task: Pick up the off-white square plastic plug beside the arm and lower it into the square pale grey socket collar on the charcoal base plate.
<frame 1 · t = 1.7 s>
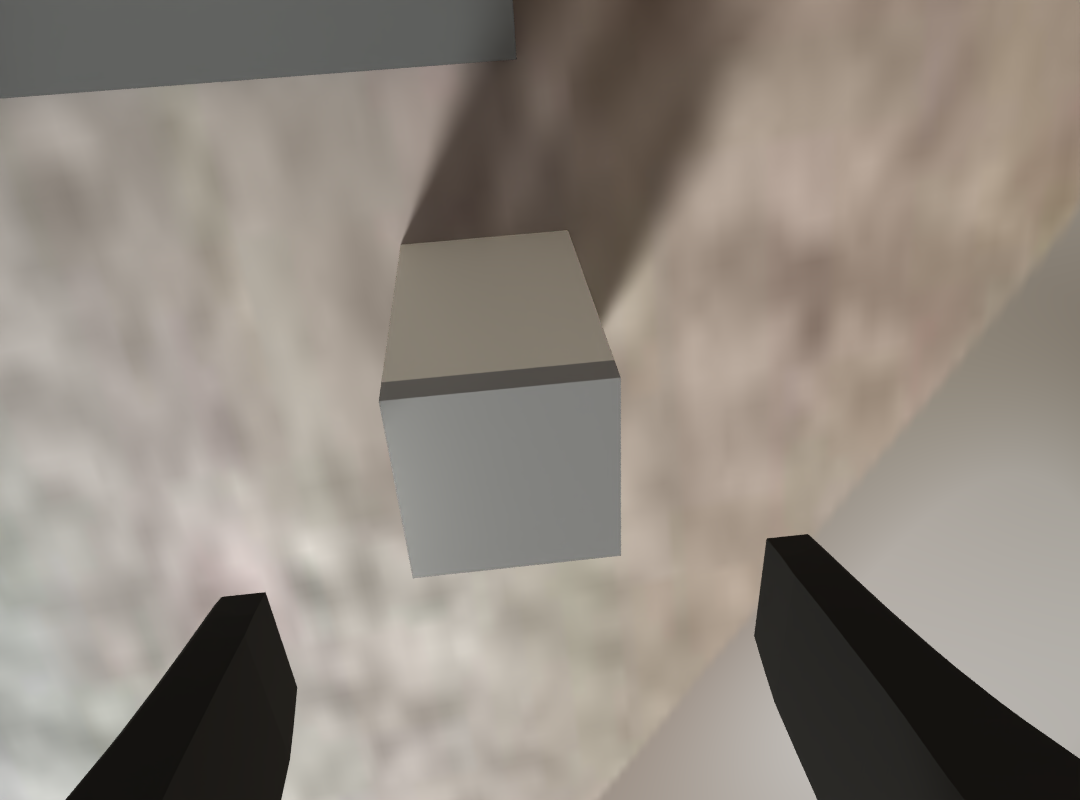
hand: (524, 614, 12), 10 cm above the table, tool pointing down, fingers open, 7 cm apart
plug: (492, 312, 20), on the table
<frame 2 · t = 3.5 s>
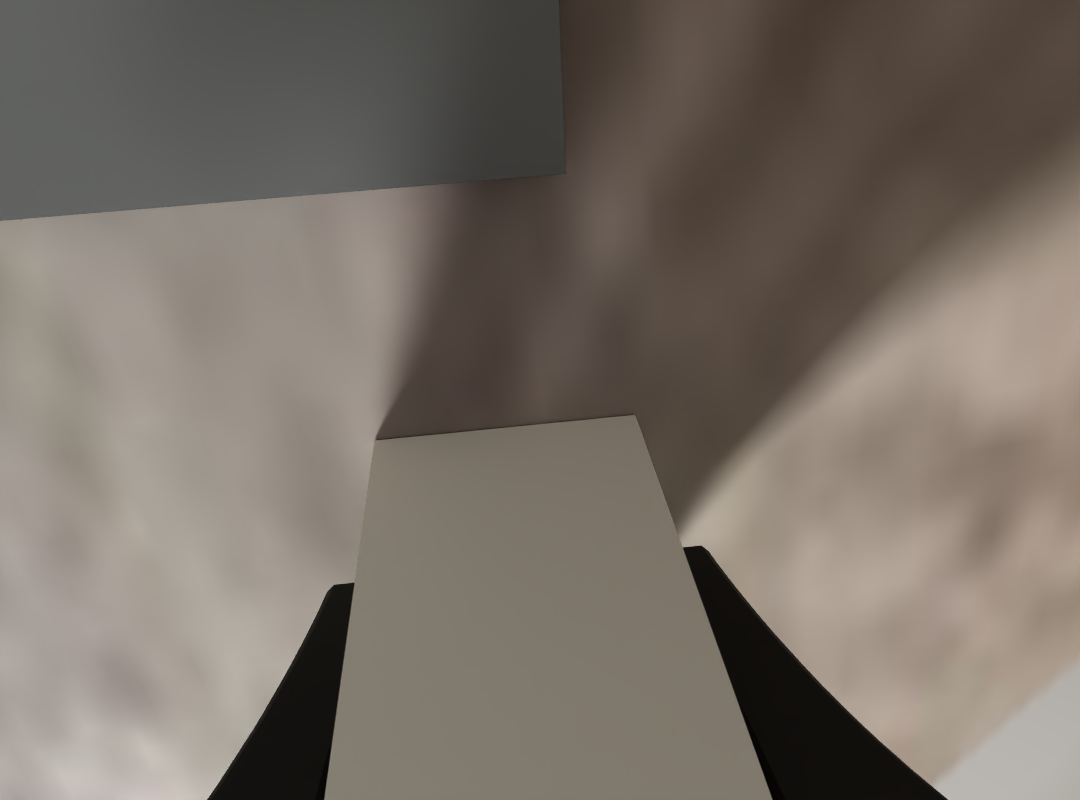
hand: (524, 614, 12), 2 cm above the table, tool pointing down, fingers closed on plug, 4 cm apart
plug: (515, 526, 13), on the table, touching gripper
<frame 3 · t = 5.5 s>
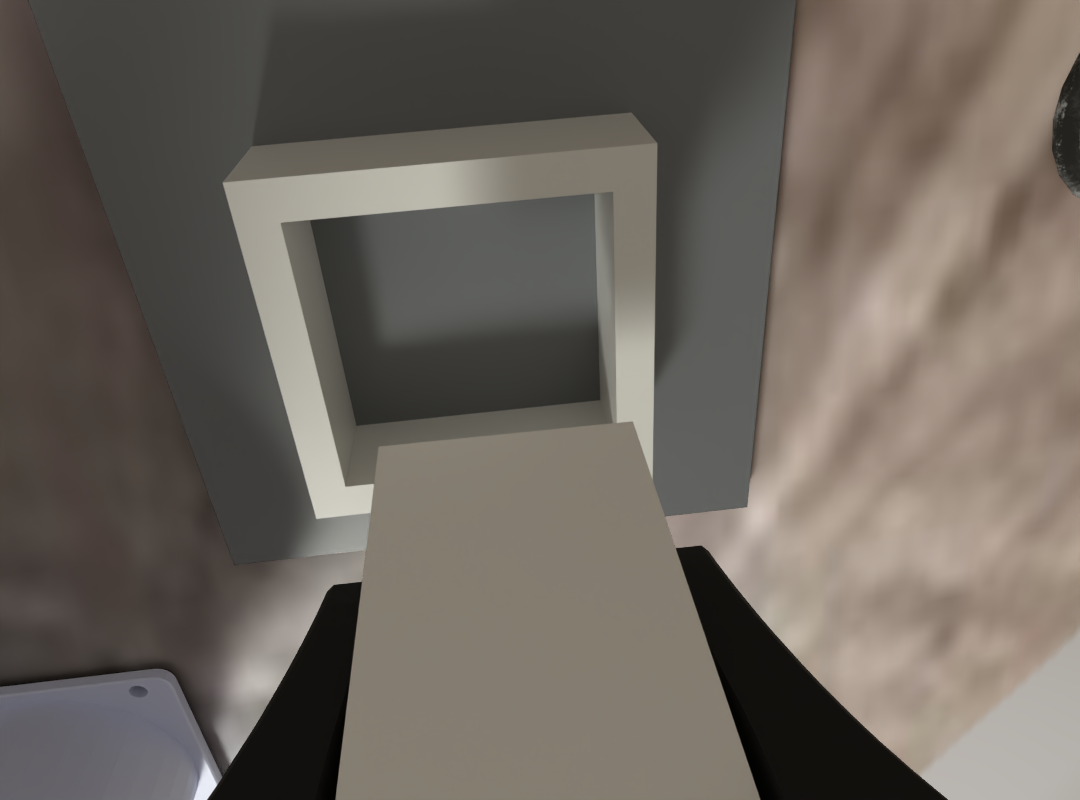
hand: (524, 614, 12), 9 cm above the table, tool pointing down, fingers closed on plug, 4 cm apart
plug: (515, 528, 14), point 7 cm above the table, touching gripper
socket base: (464, 290, 19), on the table
when the fingers open (4 cm above the table, at t = 7.6 s): plug drops 1 cm, resting on socket base.
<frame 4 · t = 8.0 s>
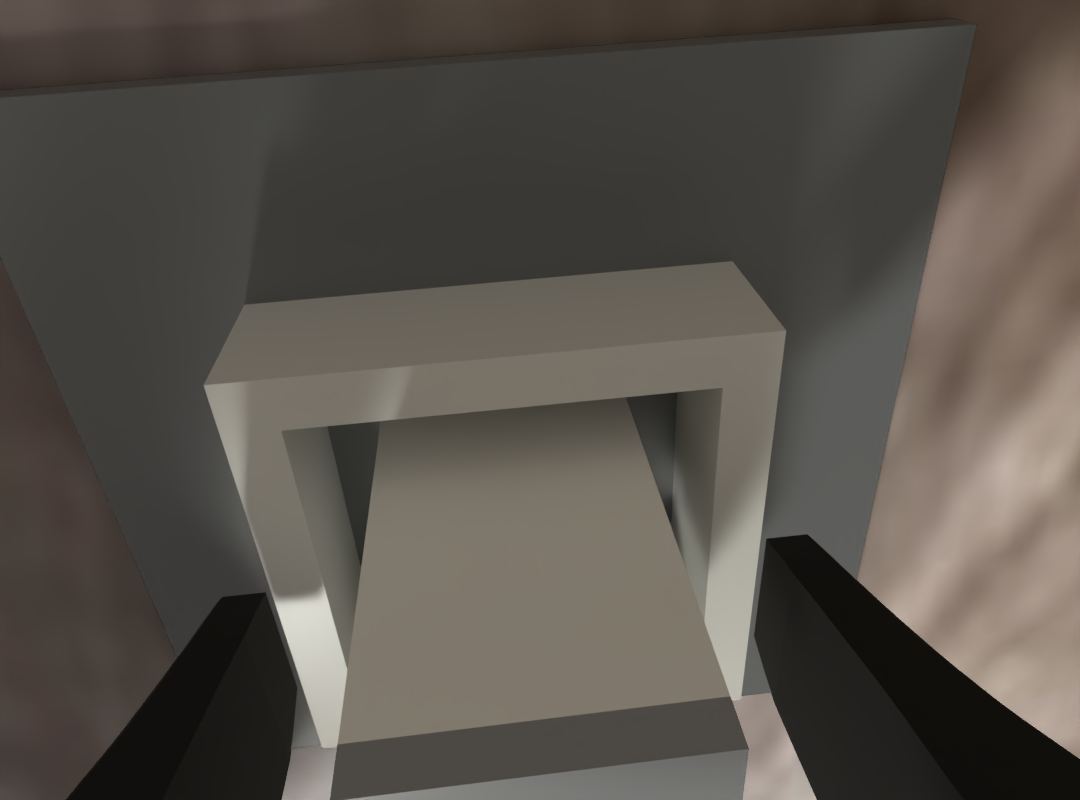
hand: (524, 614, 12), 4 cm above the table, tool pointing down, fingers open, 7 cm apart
plug: (511, 484, 15), point 1 cm above the table, touching socket base
socket base: (508, 456, 15), on the table
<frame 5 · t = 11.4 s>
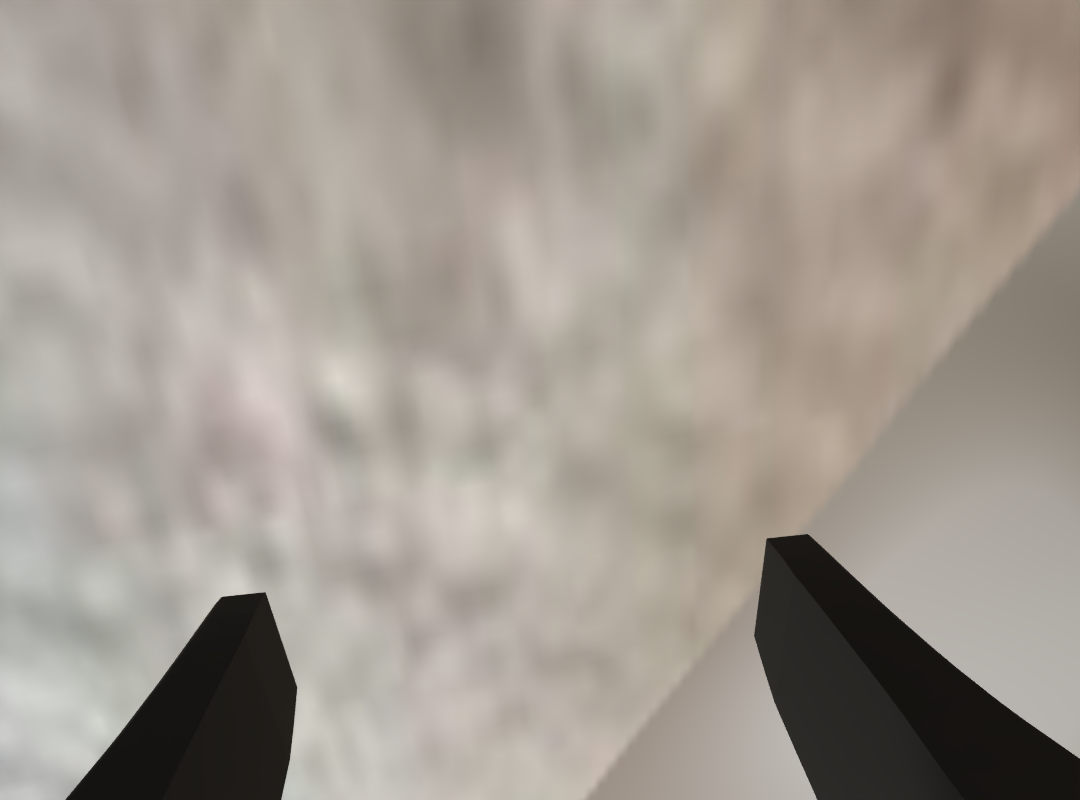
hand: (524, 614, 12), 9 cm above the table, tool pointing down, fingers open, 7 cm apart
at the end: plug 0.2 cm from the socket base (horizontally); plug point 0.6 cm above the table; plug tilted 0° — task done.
